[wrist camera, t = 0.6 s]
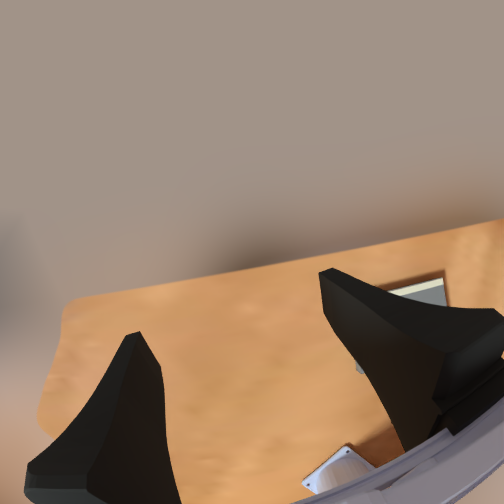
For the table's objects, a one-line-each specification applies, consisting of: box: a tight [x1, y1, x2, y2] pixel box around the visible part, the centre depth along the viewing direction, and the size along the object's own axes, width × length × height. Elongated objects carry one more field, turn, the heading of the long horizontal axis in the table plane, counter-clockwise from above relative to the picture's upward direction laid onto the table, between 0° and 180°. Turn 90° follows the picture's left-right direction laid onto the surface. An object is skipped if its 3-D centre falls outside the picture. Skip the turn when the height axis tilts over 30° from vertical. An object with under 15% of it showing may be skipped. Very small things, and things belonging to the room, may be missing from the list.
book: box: [355, 277, 447, 374], centre depth 35 cm, size 13×9×2 cm
